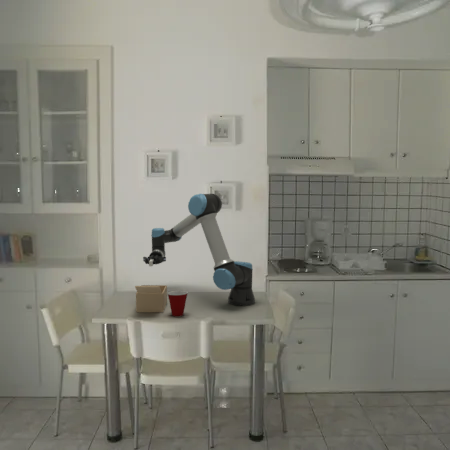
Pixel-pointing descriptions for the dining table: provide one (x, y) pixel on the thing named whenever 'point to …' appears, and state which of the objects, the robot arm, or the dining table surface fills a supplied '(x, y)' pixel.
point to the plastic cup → (177, 302)
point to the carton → (152, 300)
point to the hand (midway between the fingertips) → (150, 263)
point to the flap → (148, 289)
